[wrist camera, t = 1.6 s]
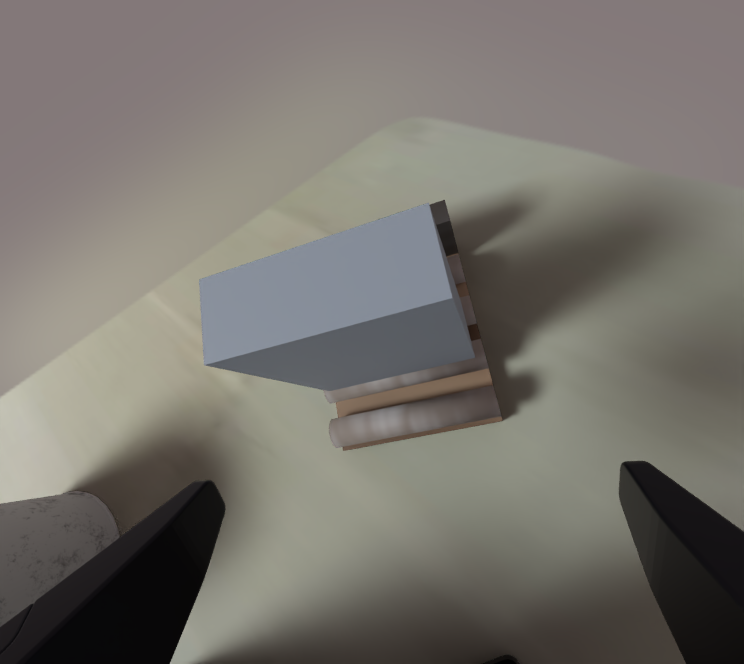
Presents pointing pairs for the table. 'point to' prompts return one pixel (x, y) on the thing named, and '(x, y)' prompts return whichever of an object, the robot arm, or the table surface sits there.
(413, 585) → the table surface
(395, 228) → the slab
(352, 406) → the roller track
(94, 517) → the speckled concrete cylinder
